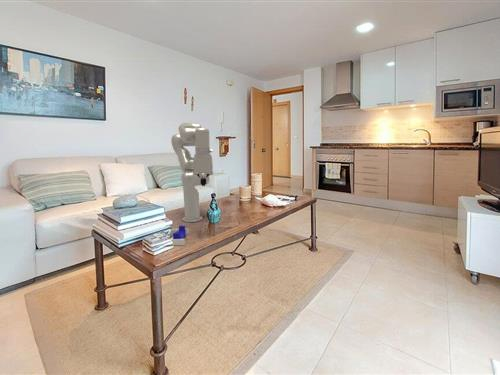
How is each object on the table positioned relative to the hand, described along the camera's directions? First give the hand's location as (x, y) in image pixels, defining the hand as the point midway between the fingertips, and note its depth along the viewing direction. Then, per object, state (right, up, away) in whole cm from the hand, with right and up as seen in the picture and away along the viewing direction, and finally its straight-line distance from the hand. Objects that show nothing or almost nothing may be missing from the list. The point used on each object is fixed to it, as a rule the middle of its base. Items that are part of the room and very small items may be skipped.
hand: (203, 185), depth 145 cm
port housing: (-12, -28, -7) cm, 31 cm away
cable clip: (-11, -29, -8) cm, 32 cm away
